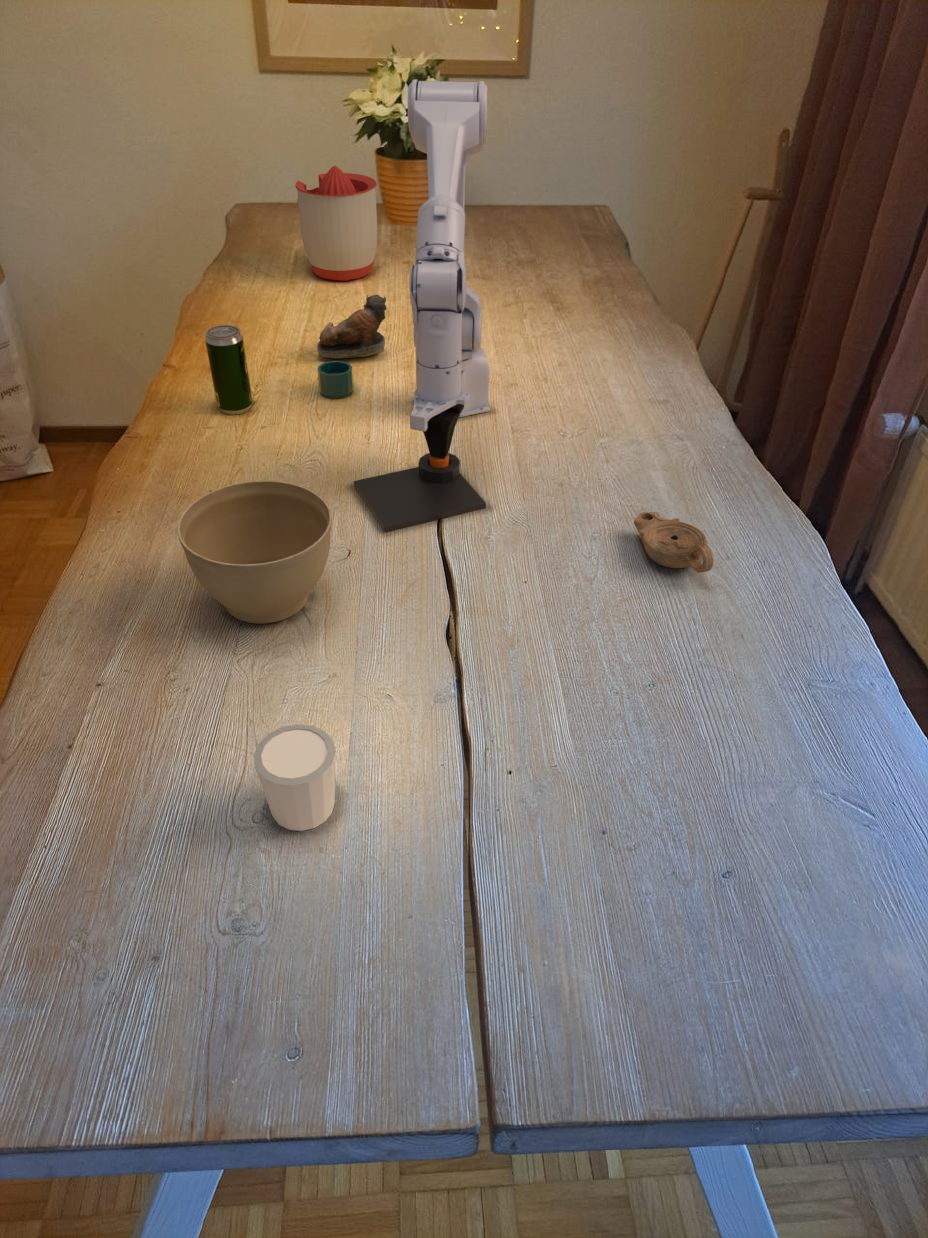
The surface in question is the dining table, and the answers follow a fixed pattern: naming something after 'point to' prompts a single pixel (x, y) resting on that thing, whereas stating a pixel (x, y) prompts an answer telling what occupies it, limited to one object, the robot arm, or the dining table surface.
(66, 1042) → the dining table surface
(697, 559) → the oil lamp
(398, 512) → the scale
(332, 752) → the beige cylinder
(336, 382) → the teal cup
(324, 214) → the citrus juicer
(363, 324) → the bison figurine
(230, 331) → the beer can
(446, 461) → the button
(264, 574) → the planter bowl
